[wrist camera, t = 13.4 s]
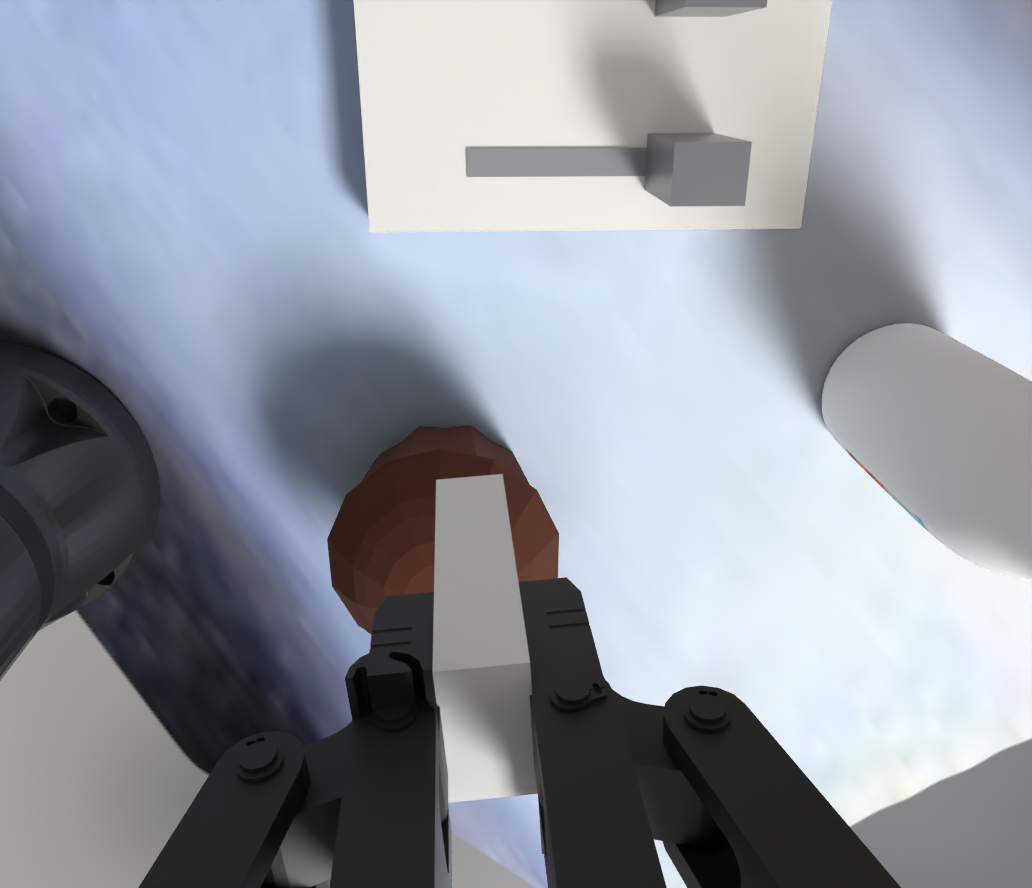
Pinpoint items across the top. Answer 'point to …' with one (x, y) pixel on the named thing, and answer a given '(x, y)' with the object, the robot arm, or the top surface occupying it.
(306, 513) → the top surface
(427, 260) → the top surface
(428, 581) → the muffin
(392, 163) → the white slider panel
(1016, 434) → the milk bottle
